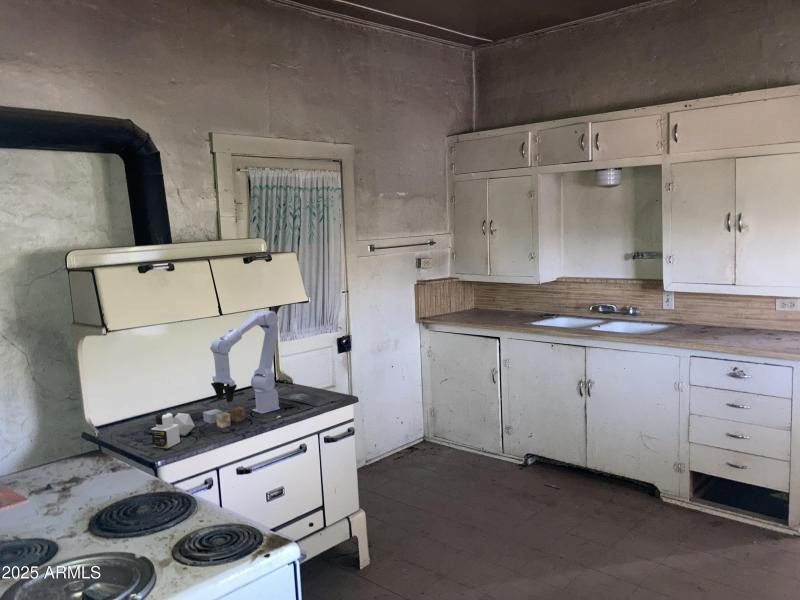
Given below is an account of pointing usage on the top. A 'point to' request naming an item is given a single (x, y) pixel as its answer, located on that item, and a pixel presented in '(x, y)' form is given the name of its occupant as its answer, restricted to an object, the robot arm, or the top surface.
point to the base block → (211, 416)
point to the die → (183, 423)
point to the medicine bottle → (165, 431)
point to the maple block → (223, 420)
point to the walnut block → (237, 414)
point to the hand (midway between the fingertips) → (225, 400)
